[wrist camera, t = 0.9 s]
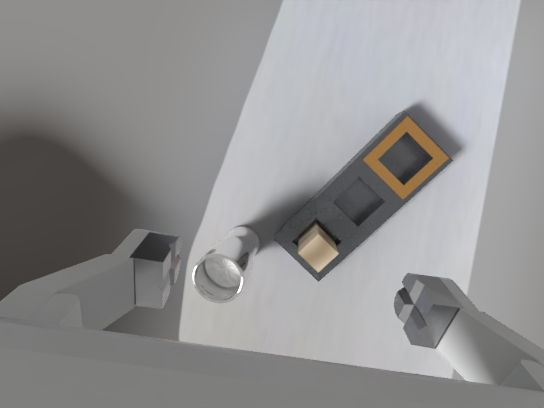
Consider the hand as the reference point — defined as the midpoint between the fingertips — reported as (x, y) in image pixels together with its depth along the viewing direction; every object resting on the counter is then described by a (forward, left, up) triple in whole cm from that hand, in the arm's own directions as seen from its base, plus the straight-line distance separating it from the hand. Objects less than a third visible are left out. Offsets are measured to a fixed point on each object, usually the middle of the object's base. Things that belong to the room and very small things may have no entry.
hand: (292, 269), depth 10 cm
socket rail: (-9, -4, -38) cm, 39 cm away
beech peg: (-9, +5, -37) cm, 38 cm away
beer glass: (-1, +15, -38) cm, 41 cm away
